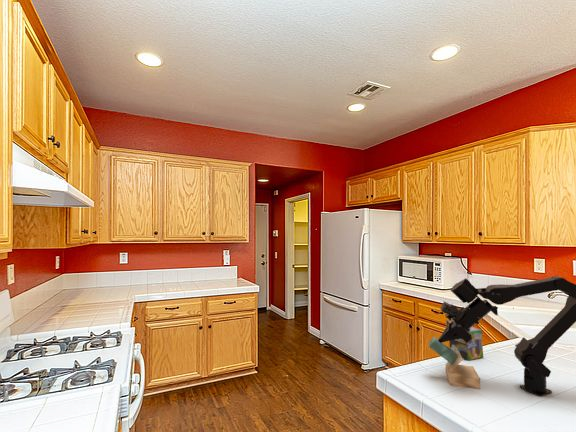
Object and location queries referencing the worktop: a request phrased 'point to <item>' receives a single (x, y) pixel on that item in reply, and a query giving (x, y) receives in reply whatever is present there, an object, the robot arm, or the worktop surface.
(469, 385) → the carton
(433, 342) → the tall teal pillar
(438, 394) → the worktop surface
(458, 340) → the chalk box
